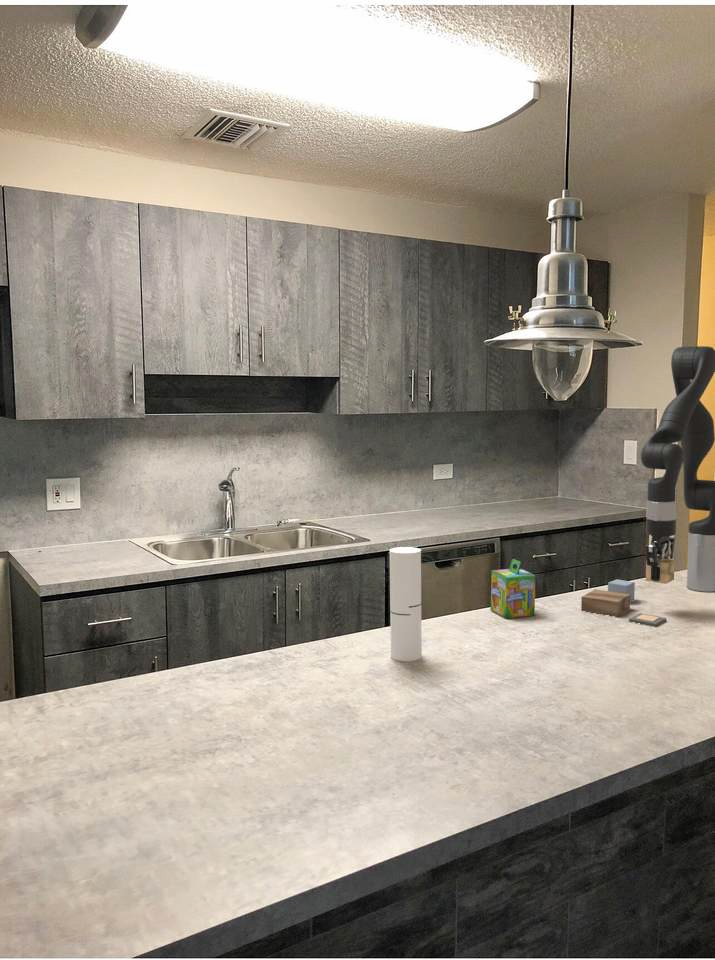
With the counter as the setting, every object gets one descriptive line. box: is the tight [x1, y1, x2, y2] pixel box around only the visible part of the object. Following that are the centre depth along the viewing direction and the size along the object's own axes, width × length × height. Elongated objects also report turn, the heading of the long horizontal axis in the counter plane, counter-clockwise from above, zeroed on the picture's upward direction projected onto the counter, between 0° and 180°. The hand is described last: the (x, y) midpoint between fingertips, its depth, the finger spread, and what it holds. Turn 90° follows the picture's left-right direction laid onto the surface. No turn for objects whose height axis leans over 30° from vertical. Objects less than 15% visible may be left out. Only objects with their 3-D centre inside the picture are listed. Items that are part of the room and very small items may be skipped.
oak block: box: [645, 558, 675, 585], centre depth 208 cm, size 6×6×6 cm
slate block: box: [607, 579, 636, 603], centre depth 221 cm, size 6×6×6 cm
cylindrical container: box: [389, 546, 423, 662], centre depth 176 cm, size 7×7×25 cm
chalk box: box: [490, 558, 537, 620], centre depth 210 cm, size 9×9×15 cm
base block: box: [580, 588, 631, 618], centre depth 212 cm, size 10×10×4 cm
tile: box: [628, 612, 667, 628], centre depth 201 cm, size 7×7×1 cm
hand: (659, 577), depth 208 cm, fingers closed on oak block, 5 cm apart
